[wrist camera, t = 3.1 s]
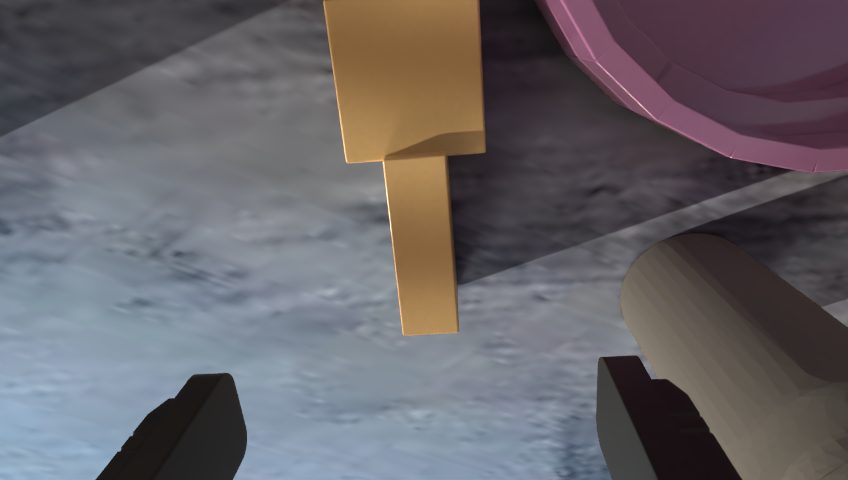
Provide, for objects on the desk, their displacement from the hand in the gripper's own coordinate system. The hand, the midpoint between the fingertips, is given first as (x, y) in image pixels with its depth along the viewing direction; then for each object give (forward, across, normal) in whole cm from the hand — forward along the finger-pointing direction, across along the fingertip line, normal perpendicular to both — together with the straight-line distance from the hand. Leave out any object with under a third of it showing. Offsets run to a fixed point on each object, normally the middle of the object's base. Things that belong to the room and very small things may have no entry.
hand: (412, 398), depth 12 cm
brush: (+12, 0, -2) cm, 13 cm away
